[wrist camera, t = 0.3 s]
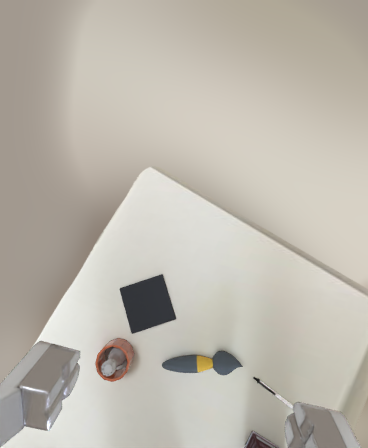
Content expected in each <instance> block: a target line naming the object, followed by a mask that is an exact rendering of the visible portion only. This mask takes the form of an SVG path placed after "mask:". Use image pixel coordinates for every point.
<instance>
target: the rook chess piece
mask: <svg viewBox="0 0 368 448" xmlns="http://www.w3.org/2000/svg"><path fill="white" fill-rule="evenodd" d="M125 359H126V355H125V353H124V352H123V351H122V350H121V349H120V348H116V347H114V348H113V349H112V350H111V351H110V353H109V355H108V360H107V361H105V362H104V363H103V364H102V372H103V375H106V376H111V375H112V374H113V373H114V372H115V369H116V367H118V366H120V365H122V363H123V362H124V361H125Z"/></svg>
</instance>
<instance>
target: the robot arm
mask: <svg viewBox="0 0 368 448" xmlns="http://www.w3.org/2000/svg"><path fill="white" fill-rule="evenodd" d="M79 358H80V351H78V350H75V349H71V348H67V347H63V346H59V345H55V344H52V343H48V342H43V341H39V342H38V343H37V344H35V345H34V346H33V347H32V348H31V350H30V351H29V352H28V353H27V354H26V355H25V356H24V358H23V359H22V360H21V361H20V362H19V363H18V364H17V365H16V367H15V368H14V369H13V370H12V371H11V372H10V373H9V374H8V376H7V377H6V378H5V379H4V380H3V381H2V382H1V383H0V447H1V446H2V445H4V444H5V443H6V442H7V441H9V440H10V439H11V438H12V437H13V436H15V435H16V434H17V433H18V432H19V431H21V430H22V429H23V428H24V426H26V427H31V428H36V429H41V430H45V431H50V429H51V427H52V425H53V424H54V422H55V420H56V418H57V417H58V415H59V413H60V411H61V410H62V400H63V399H65V398H66V397H68V396H69V395H70V393H71V392H72V390H73V388H74V386H75V383H76V381H77V378H78V375H79V370H80V366H79V364H78V363H77V362H78V360H79ZM293 411H294V413H293V414H291V415H289V416H288V417H287V419H286V422H285V437H286V442H287V446H288V448H361V446H360V444H359V442H358V440H357V438H356V436H355V434H354V433H353V431H352V429H351V427H350V425H349V423H348V421H347V419H346V417H345V416H344V415H343V414H342V412H339V411H335V410H331V409H326V408H324V407H320V406H315V405H310V404H306V403H301V402H297V403H295V404H294V406H293Z"/></svg>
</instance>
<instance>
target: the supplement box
mask: <svg viewBox="0 0 368 448" xmlns="http://www.w3.org/2000/svg"><path fill="white" fill-rule="evenodd" d="M244 448H279V447H278V446H276V445H274V444H273V443H271V442H270V441H268V440H267V439H265V438H263V437H262V436H260V435H259V434H257V433H255V432H254V431H252V433H251V435H250V437H249V439H248V441H247V443H246V445H245V447H244Z"/></svg>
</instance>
